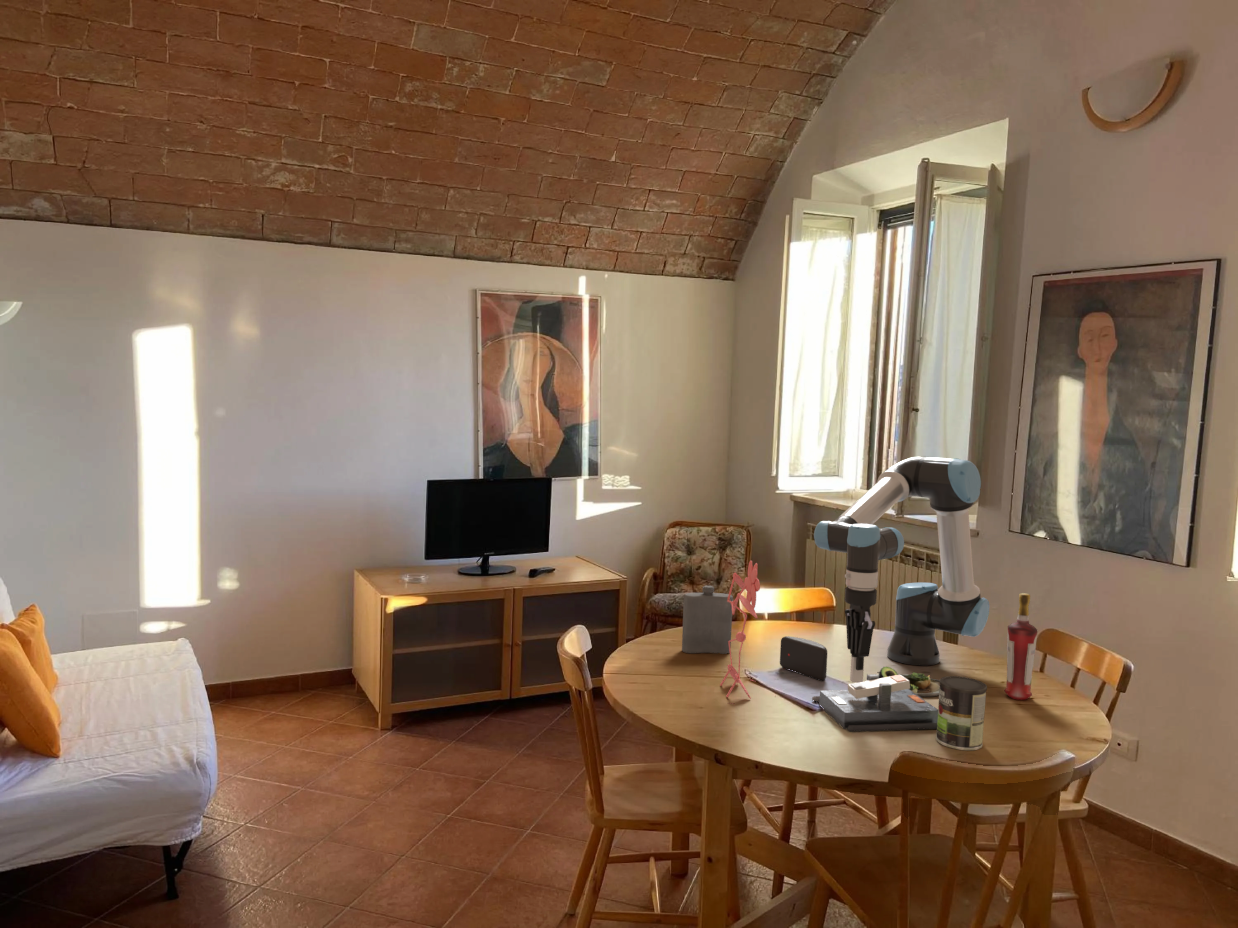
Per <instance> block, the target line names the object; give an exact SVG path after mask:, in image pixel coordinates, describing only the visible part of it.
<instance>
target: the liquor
mask: <svg viewBox="0 0 1238 928" xmlns="http://www.w3.org/2000/svg"><path fill="white" fill-rule="evenodd" d="M1018 595H1019V596H1018V605H1019V607H1018V612H1017V618H1016V621H1015V622H1012V623H1011V624H1009V625H1008V626H1007V635H1006V636H1007V639H1006V640H1007V641H1006V642H1007V643H1006V644H1007V645H1006V647H1007V648H1006V649H1007V650H1006V654H1007V655H1006V656H1007V657H1006V658H1007V659H1006V660H1007V661H1006V663H1007V664H1006V685H1005V689H1004V690H1003V691H1004V693H1005V694H1006V695H1007V696H1008V697H1009V698H1010V699H1013V700H1018V701H1026V700H1028V699H1029V698H1031V697H1032V696H1033V694H1032V691H1031V689H1032V678H1033V671H1034V670H1033V669H1034V664H1035V663H1034V662H1035V655H1036V649H1037V648H1036V647H1037V637H1038V632H1039V631H1038V629H1037V628H1036V627H1035V626H1034V625H1033V624H1031V623H1030V613H1029V611H1030V607H1029V605H1030V602H1031V594H1029V593H1024V592H1022V593H1019V594H1018Z"/></svg>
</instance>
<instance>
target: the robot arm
mask: <svg viewBox="0 0 1238 928" xmlns="http://www.w3.org/2000/svg"><path fill="white" fill-rule="evenodd" d="M981 485H982V480H981V475H980V472H979V469H978V468H977V466H976V464H974V463H973V462H972V461H970V460H967V459H961V458H948V457H947V458H946V457H935V456H926V455H921V456H912V457H908V458H905V459H903V460H901V461H899V462H896V463H894V464H892V465H891V466H890V467H888V468H886V470H884V471H883V472H882V473H881V474H879V476H878V478H877V481H876V483H875V484H874V485H873V486H871V488H870V489H868V490H867V491H866V492H865V493H864V494H862V496H860V497H859V498H858V499H857V500H856V501H855V502H854V503H852V504H851V505H850V506H849V507H848V508H847V509H846V510H845V511H843V512H842V513H841V515H839V516H838V517H837V518H836V519H834V521H831V520H822V521H819V522H818V523H817V524H816V526H815V529H814V531H813V532H814V533H813V539H814V544H815V545H816V547H817V548H819V549H822V550H826V551H829V552H836V553H837V552H838V553H844V554H846V567H845V569H846V570H845V574H844V578H845V585H846V587H845V589H844V601H845V603H846V604H848V605H849V608H847V609H846V608H845V609H844V615H845V623H846V626H845V627H846V642H847V643H846V646H847V650H849V652H850V654H851V656H850V657H851V658H850V676H849V678H850V679H849V681H850V682H851V683H858V682H863V681H864V672H865V671H864V667H865V658H867V657H870V651H871V645H872V640H873V639H872V638H873V633H874V629H875V627H876V622H875V620H871V615H872V614H871V607H872V606H874V605H876V604H877V597H878V596H877V595H878V590H877V589H876V588H877V587H878V583H879V582H878V578H879V561H881V560H886V559H891V558H893V557H895V556H898V555H899V554H901V553H902V551H903V549H904V548H905V547H904V546H905V539H904V536H903V534H902V532H901V531H900V530H898V529H897V528H895V527H881V528H880V527H879V526H878V525H875V523H876V522H877V521H878V520H879V519H880V518H881V517H882V516H883V515H884V514H886V513H887V512H888V511H889V510H890V509H891V508H892V507H893V506H895V504H896V503H900V502H903V501H905V500H906V499H908V498H909V497H910V498H911V497H918V498H926V499H927V498H928V499H929V506H930V509H931V510H932V511H934V512H935V515H936V523H937V524H936V525H937V526H936V527H937V535H938V547H939V557H940V568H941V569H940V570H941V571H940V572H941V581H942V582H941V583H942V585H941V586H940V587H938V584H936V583H934V582H908V583H903V584H900V585H899V586H898V588H897V590H896V597H895V619H894V632H893V635H892V637H891V640H890V642H889V644H888V647H887V651H886V652H887V658H889V659H890V660H892V661H894V662H897V663H901V664H904V665H913V666H933V665H937V664H939V662H940V652H939V647H938V644H937V639H936V635H935V634H936V633H935V632H936V630H938V631H941V632H947V633H951V634H955V635H961V637H962V636H963V637H964V636H967V637H972V638H973V637H978V636H979V635H980V634H981V633H983V631H984V629H985V627H986V625H987V622H988V618H989V614H990V605H991V604H990V602H989V600H988V599H987V598H985V597H982V595H981V589H980V587H979V586H978V585H976V584H975V579H974V569H973V568H974V565H973V551H972V542H971V526H970V515H969V512H970V511H969V510H970V509H971V508H972V507H974V503H975V502H977V501H978V499H979V497H980V494H981V490H980V489H981V487H982V486H981Z"/></svg>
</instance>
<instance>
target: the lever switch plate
mask: <svg viewBox="0 0 1238 928" xmlns="http://www.w3.org/2000/svg"><path fill="white" fill-rule="evenodd" d="M873 679H879V676H878V674H877V673H875V674H872V673H871V674H868V673H867V674H866V681H868V680H873ZM819 696H820V701H819V702H818V705H819V704H820V705H821V706H822V707H823V708H824V710H823V711H824V712H825V713H826V714H827V715H828V717H830V718H832V720H833V721H835V722H836V724H838V725H839V726H840V727H841V728H842V729H843V730H848V726H849V725H878V724H915V723H937V721H938V708H936V707H935V706H934V705H933V704H930V702H928V701H926V700H925V699H923V697H919V696H918V695H916V694H915V693H914V692H912V691H911V690H909V689H905V690H900V691H895V692H891V685H890V684H889V683H880V684H879V695H874V696H869V697H863V698H858V699H856V698H855V697H854V696H853V695H851V694H850V693H849V692H848V689H842V690H841V689H837V690H834V689H831V690H819Z"/></svg>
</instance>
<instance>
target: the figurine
mask: <svg viewBox="0 0 1238 928" xmlns="http://www.w3.org/2000/svg"><path fill="white" fill-rule="evenodd" d="M758 566H759V565H758V563H757V562H756V563H755V564H754V565H753V560H750V561H749V562H748V567H747V577H745V578H744V580H743V579H742V578H741V576H740V575H739V574H737V572H734V573H733V574H732V580H731V585H730V588H729V592H728V594H729V595H728V599H727V602H729V603H731V606H732V616H734V615H735V613H736V609H737V610H738V611H740V613H742V614H743V615H744V619H743V625H742V631H738V632H737V633H736V634H735V638H733V639H731V640H730V641H728V644H729V652H730V653H729V658H730V664H728V665H727V672H726V673H725V675H724V677H723V679H722V680H721V682H720V684H719V686H720V687H722V686H723V685H724V682H725V681H726V679H727V678H728V676H729V675H730V677H732V679H733V680H734V682H733V683H732V685H731V686H730V689H729V690H728V691H727V694H726V697H727V698H729V696H730V694H731V693H732V691H733V689H734V687H735V686H736V684H739V685H740V686H741V688H742V690H743V691H744V693H745V694H746V695H747V697H748V698H749V699H750V700H751V699H752V697H751V696H750V694H749V692H748V690H747V688H746V686H745V685H744V683H743V682H742V680H741V677H740V673H741V672H740V671H741V650H742V648H743V644H744V642H745V640H747V639H746V638H747V637H746V636H747V635H746V633H745V632H744V631H745V627H746V623H747V618H748V615H747V613H746V612H745V611H744V610H743V609H741V608H740V607H738V606H737V605H738V603H739V601H740V603H741V604H742V606H743V607H744V608H745V610H746V611H747V612H748V613H749V614H750V615H751V616H752V617H754V618H755V619H758V615H757V613H756V610H755V608H756V604H757V592H759V591H760V589H761V583H760V580H759V578H758V575H759V574H758V569H759V568H758ZM734 584H736V585H738V587H739V588H740V589H741V590H740V592H738V593H737V594H736V597H735V598H734V599H733V602H732V601H730V600H729V599H730V595H732V590H733V586H734ZM744 590H745V591H746V597H745V596H744V595H742V593H743V592H744ZM735 641H737V642H739V643H740V647H739V650H738V671H737V670H736V668H735V667H734V666H733V658H732V650H731V649H732V648H731V649H730V642H731V643H732V642H735ZM751 681H752V682H755V680H753V679H751ZM776 696H777V695H775V696H774V698H776ZM728 704H729V705H735V703H734V702H728Z"/></svg>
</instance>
